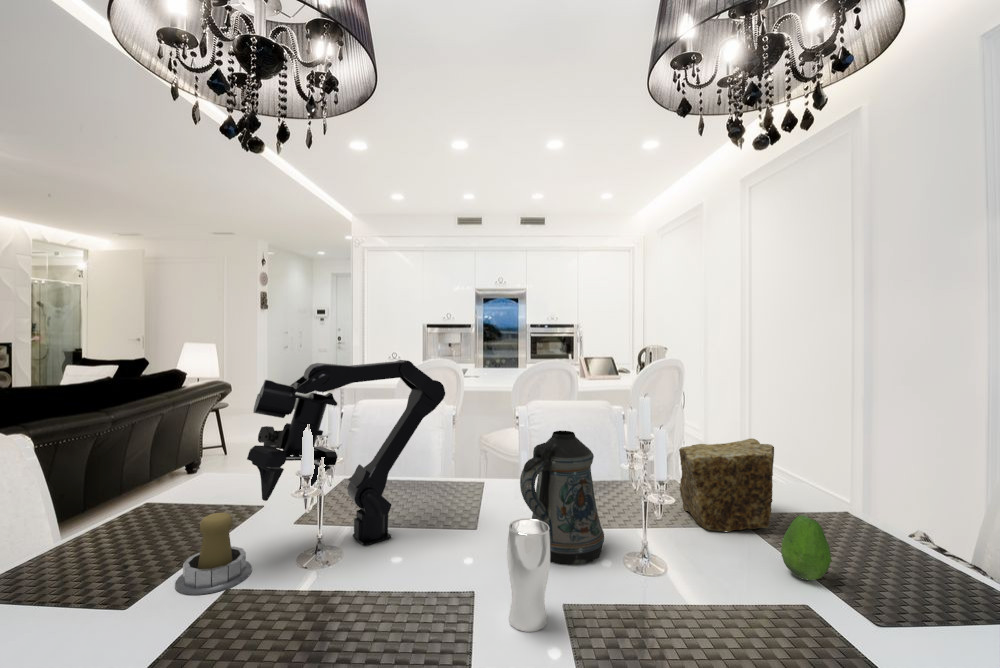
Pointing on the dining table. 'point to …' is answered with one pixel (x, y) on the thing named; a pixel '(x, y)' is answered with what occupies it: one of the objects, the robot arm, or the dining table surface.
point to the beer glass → (528, 572)
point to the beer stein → (564, 498)
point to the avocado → (806, 549)
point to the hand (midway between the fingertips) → (283, 498)
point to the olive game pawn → (215, 541)
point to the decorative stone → (728, 484)
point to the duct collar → (213, 575)
